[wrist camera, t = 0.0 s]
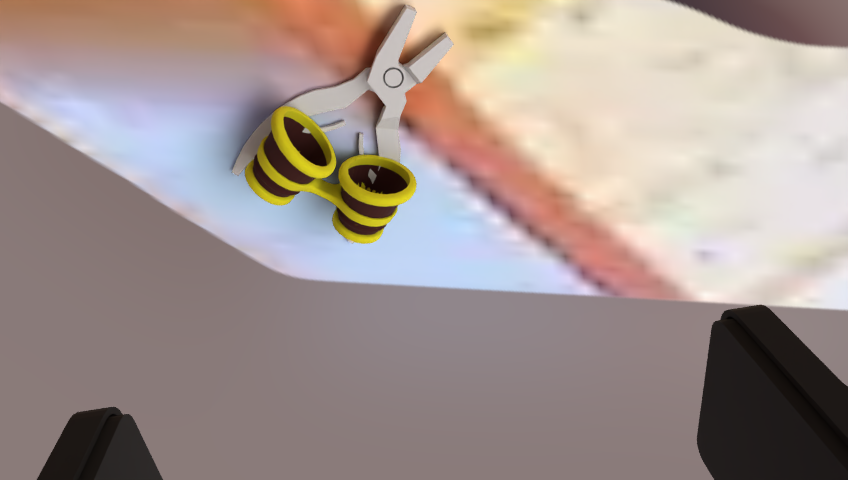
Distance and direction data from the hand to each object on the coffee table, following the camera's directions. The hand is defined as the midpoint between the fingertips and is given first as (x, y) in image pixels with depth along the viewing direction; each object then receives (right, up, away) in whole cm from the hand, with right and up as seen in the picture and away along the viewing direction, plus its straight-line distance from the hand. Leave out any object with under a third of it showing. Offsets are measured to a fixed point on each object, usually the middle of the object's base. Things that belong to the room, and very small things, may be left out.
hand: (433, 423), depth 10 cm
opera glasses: (-6, +8, +31) cm, 33 cm away
